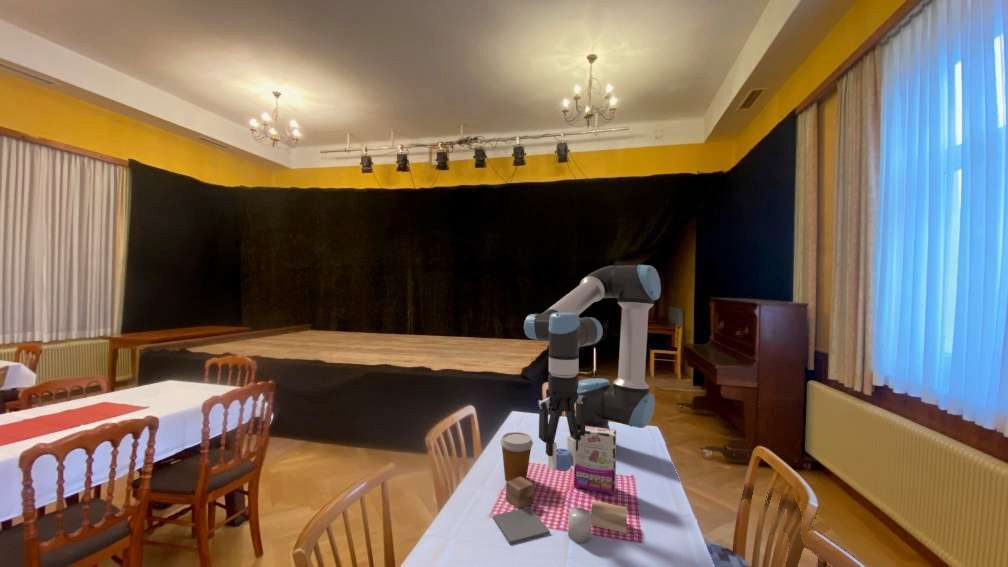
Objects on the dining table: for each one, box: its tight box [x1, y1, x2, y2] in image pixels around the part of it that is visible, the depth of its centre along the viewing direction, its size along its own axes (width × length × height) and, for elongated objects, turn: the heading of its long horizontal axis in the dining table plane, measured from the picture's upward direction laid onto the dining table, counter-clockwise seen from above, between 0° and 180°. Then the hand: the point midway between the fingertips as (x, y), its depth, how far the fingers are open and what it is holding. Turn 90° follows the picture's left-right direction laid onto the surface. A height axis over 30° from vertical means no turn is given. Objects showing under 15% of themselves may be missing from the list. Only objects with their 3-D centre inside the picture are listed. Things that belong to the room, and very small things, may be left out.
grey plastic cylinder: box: [567, 507, 592, 544], centre depth 86 cm, size 5×5×5 cm
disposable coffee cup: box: [499, 431, 534, 482], centre depth 110 cm, size 10×10×12 cm
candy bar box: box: [573, 426, 617, 496], centre depth 107 cm, size 11×5×16 cm, turn 70°
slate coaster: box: [492, 506, 551, 545], centre depth 89 cm, size 10×10×1 cm
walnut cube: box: [505, 476, 534, 510], centre depth 99 cm, size 5×5×5 cm
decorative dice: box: [555, 447, 573, 472], centre depth 96 cm, size 4×4×4 cm
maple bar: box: [590, 500, 628, 534], centre depth 90 cm, size 4×8×4 cm, turn 72°
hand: (561, 465), depth 96 cm, fingers closed on decorative dice, 5 cm apart
